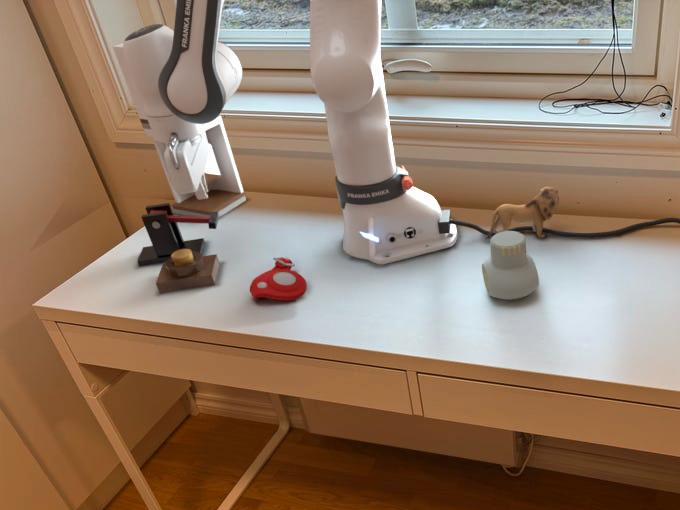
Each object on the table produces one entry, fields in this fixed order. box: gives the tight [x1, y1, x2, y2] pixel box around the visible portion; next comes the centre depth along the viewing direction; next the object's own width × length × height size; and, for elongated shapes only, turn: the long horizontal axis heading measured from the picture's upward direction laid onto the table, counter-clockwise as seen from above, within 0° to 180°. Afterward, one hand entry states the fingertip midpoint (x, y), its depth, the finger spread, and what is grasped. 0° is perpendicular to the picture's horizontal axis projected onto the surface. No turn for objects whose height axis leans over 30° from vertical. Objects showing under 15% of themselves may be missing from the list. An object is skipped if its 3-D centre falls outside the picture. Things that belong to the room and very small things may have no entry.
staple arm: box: [150, 210, 220, 230], centre depth 136 cm, size 12×5×2 cm, turn 100°
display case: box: [112, 42, 247, 218], centre depth 146 cm, size 11×11×35 cm
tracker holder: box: [249, 256, 308, 302], centre depth 125 cm, size 12×4×10 cm
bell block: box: [155, 251, 221, 294], centre depth 130 cm, size 10×8×4 cm
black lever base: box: [136, 202, 206, 267], centre depth 137 cm, size 12×6×10 cm, turn 101°
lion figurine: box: [485, 185, 560, 240], centre depth 133 cm, size 15×5×9 cm, turn 103°
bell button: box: [171, 249, 194, 266], centre depth 129 cm, size 4×4×2 cm
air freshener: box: [481, 230, 540, 301], centre depth 117 cm, size 11×8×10 cm
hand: (203, 196), depth 134 cm, fingers closed
